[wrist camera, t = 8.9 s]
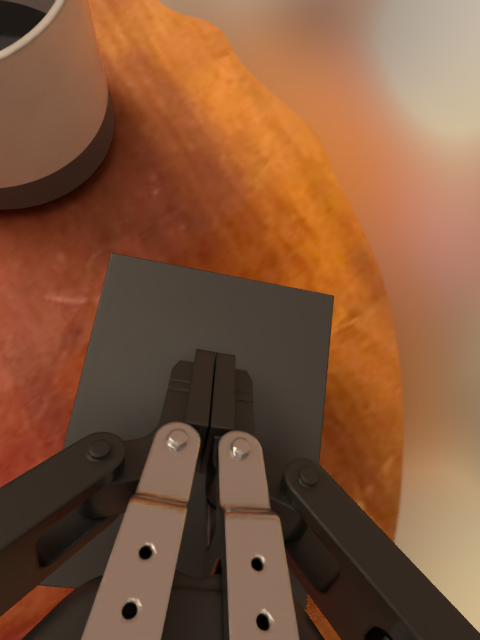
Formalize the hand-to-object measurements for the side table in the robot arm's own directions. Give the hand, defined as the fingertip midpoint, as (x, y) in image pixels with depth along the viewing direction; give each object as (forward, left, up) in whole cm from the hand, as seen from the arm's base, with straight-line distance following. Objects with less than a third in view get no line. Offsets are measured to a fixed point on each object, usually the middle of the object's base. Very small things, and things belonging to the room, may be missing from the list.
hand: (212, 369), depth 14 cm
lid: (-1, +1, -1) cm, 2 cm away
